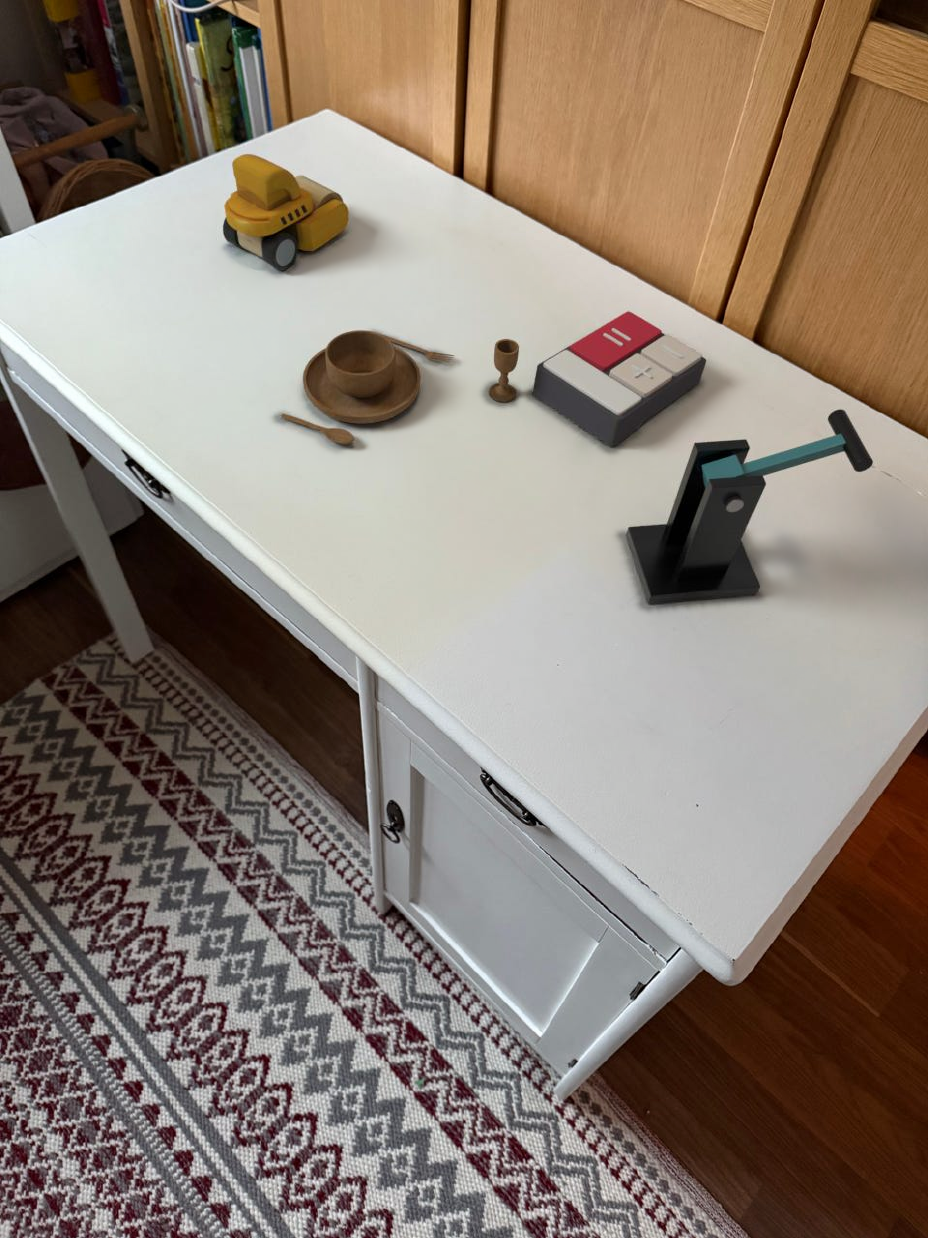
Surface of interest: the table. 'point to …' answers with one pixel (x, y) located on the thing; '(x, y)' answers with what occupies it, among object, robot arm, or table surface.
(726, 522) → the bracket
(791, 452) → the lever
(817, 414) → the table surface
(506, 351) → the place setting
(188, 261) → the table surface
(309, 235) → the toy roller
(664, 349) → the calculator
